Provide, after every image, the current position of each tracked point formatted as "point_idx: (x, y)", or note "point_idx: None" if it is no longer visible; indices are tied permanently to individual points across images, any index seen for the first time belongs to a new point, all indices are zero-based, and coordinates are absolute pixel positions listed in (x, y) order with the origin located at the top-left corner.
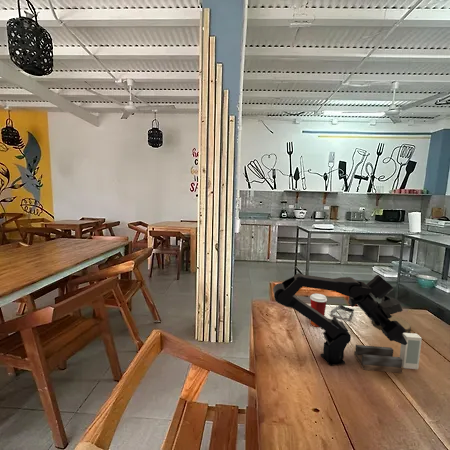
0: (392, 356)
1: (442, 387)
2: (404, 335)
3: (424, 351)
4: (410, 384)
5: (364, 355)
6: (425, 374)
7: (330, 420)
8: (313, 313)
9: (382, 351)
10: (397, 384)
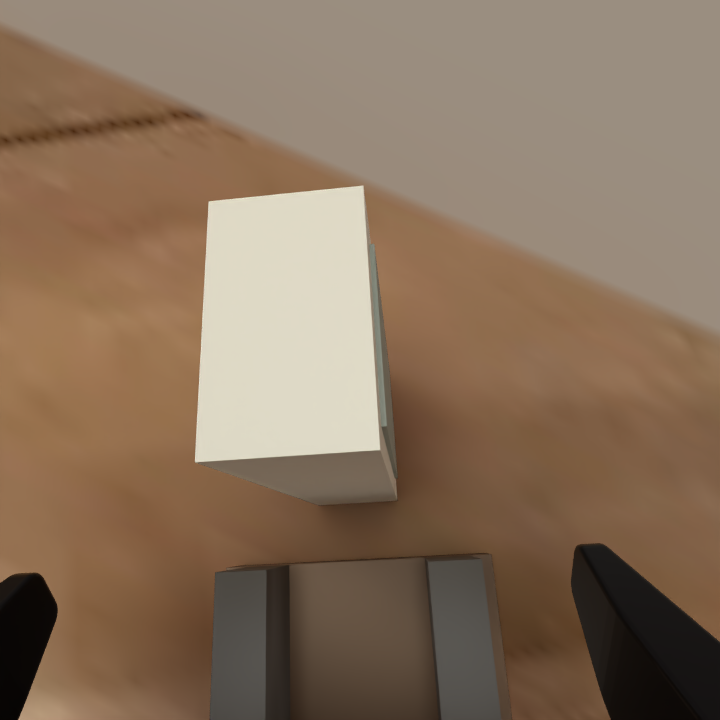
0: (288, 569)
1: (596, 301)
2: (289, 458)
3: (119, 208)
4: (652, 556)
5: None
6: (451, 348)
7: None
8: None
9: (275, 715)
10: None
